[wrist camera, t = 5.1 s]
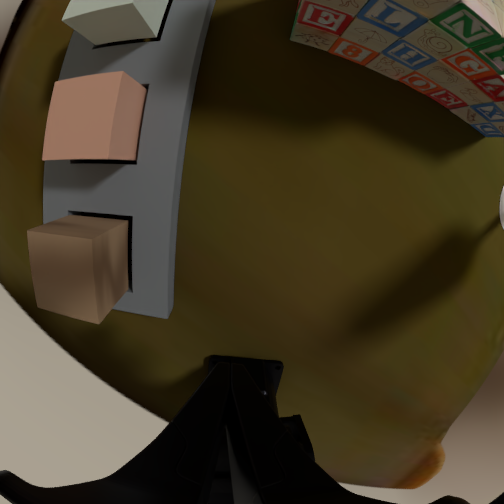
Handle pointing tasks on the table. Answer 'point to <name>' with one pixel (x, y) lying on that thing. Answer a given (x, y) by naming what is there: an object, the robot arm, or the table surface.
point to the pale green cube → (115, 19)
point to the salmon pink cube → (95, 118)
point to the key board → (139, 151)
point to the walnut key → (79, 265)
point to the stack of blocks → (420, 48)
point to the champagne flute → (502, 208)
